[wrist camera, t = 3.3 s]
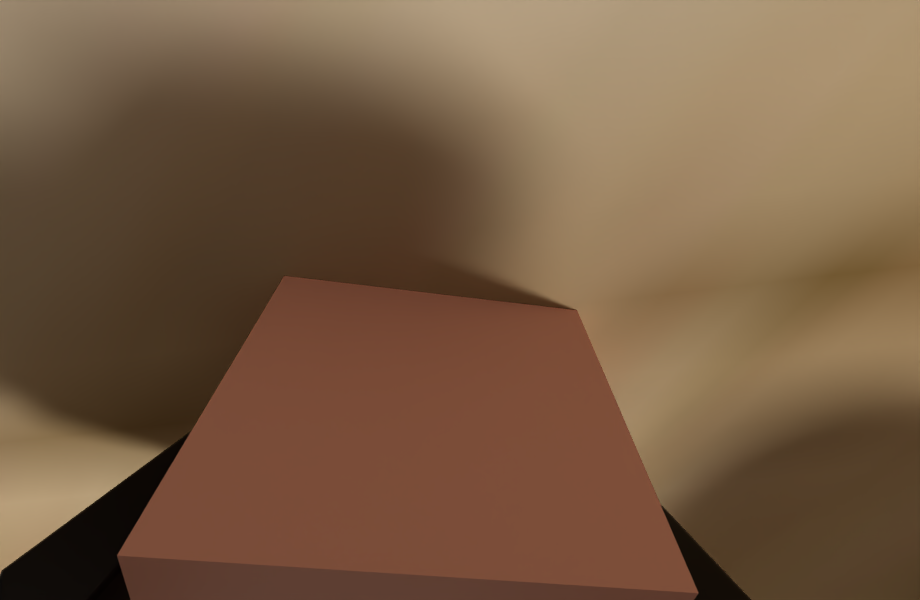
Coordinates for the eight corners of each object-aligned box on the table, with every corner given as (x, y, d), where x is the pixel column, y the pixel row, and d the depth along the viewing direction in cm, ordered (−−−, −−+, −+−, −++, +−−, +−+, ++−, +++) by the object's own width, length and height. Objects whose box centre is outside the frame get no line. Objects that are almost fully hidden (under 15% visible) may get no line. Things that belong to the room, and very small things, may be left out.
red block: (575, 307, 9) (698, 592, 5) (517, 496, 11) (561, 797, 7) (285, 273, 8) (117, 555, 4) (290, 478, 11) (189, 789, 7)
